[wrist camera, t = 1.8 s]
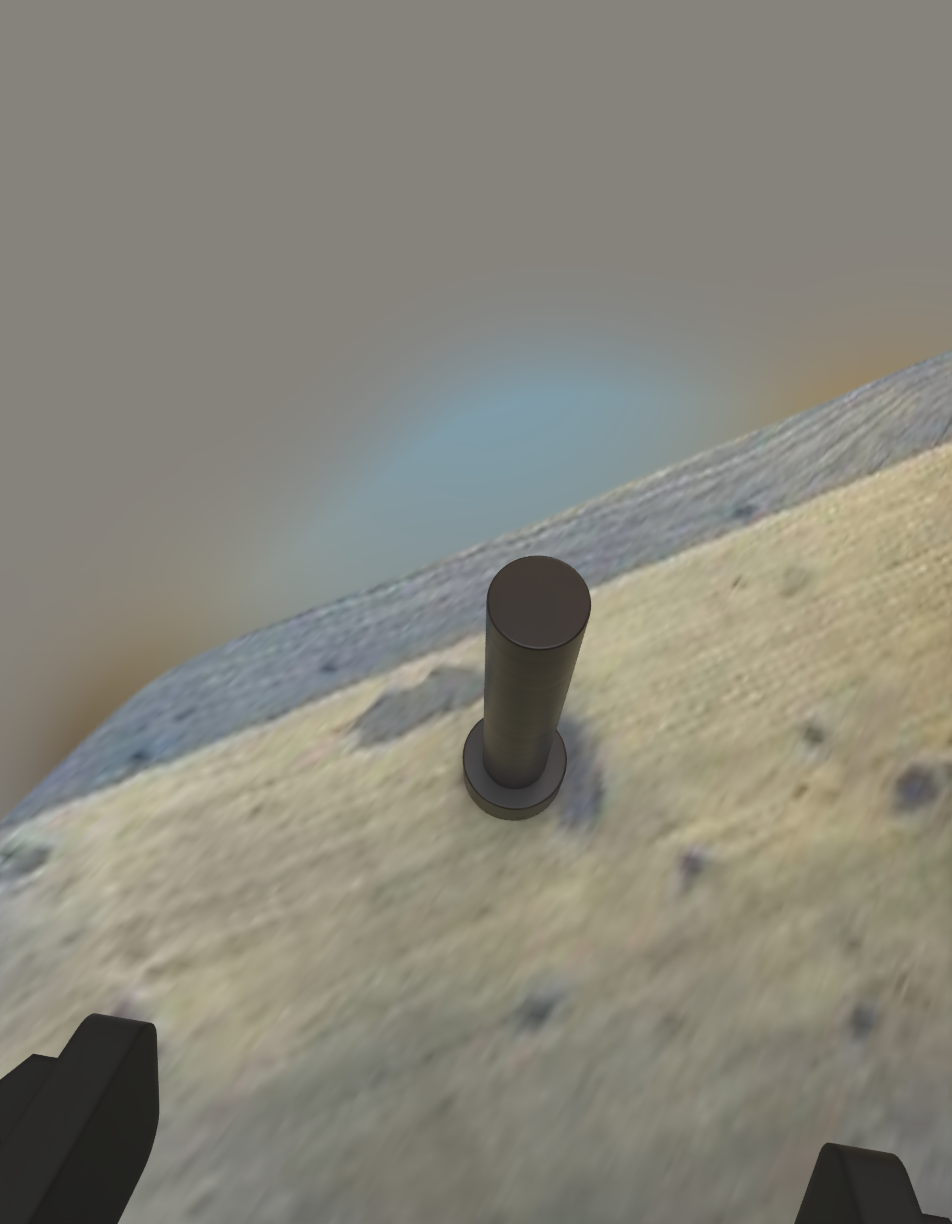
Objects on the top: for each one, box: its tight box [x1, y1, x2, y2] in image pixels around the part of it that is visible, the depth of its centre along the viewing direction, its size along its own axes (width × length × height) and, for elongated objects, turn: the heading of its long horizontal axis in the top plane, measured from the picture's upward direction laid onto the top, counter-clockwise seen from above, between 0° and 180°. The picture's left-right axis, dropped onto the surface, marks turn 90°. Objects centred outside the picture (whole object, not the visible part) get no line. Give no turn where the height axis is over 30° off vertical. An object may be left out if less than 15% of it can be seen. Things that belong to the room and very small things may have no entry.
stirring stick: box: [463, 556, 591, 820], centre depth 25 cm, size 4×4×15 cm
